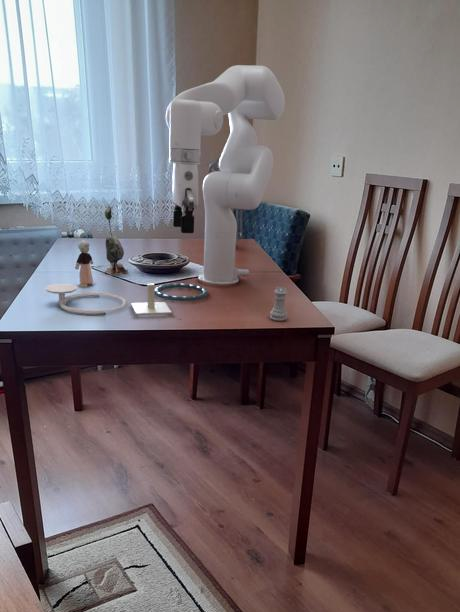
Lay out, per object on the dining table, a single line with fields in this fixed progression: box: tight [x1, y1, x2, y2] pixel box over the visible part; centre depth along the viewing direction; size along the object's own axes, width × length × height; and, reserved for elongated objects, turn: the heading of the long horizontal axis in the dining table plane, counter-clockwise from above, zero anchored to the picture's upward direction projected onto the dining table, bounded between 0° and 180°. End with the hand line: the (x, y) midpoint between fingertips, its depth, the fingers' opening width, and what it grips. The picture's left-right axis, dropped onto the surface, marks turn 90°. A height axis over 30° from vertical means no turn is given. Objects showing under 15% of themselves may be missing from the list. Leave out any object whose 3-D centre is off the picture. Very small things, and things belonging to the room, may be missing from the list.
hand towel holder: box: [44, 282, 127, 316], centre depth 143 cm, size 17×4×21 cm
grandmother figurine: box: [74, 239, 94, 288], centre depth 158 cm, size 8×4×13 cm, turn 168°
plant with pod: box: [104, 205, 130, 276], centre depth 170 cm, size 8×11×20 cm
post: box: [130, 282, 173, 316], centre depth 140 cm, size 9×9×7 cm
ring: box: [155, 283, 210, 302], centre depth 156 cm, size 15×15×2 cm
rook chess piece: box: [269, 286, 288, 322], centre depth 140 cm, size 4×4×8 cm
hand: (183, 229), depth 143 cm, fingers open, 9 cm apart
